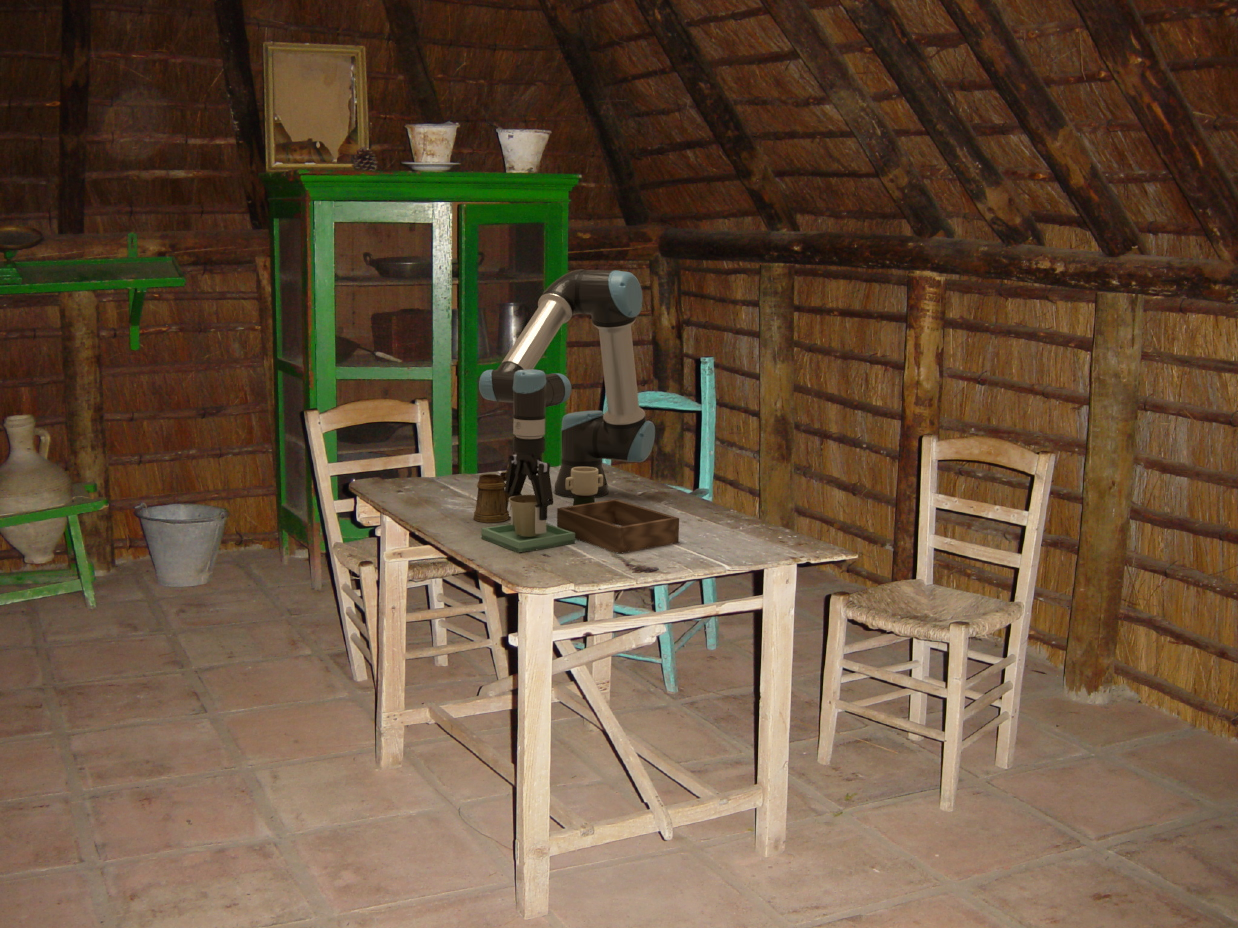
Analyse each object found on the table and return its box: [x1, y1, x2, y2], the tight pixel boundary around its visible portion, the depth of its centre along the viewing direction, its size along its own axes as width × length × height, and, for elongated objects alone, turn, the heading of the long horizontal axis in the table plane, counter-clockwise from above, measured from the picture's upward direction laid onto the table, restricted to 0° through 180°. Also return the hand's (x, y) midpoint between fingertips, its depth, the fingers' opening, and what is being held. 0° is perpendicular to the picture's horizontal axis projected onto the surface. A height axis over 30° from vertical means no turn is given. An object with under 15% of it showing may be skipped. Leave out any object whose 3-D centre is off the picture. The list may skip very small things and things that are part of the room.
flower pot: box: [509, 494, 542, 537], centre depth 288 cm, size 9×9×9 cm
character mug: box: [565, 467, 603, 506], centre depth 312 cm, size 11×7×13 cm, turn 120°
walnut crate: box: [556, 499, 680, 554], centre depth 294 cm, size 18×24×6 cm
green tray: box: [481, 522, 576, 553], centre depth 289 cm, size 16×16×2 cm
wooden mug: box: [473, 452, 517, 524], centre depth 309 cm, size 9×14×18 cm, turn 112°
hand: (528, 528), depth 289 cm, fingers open, 9 cm apart
